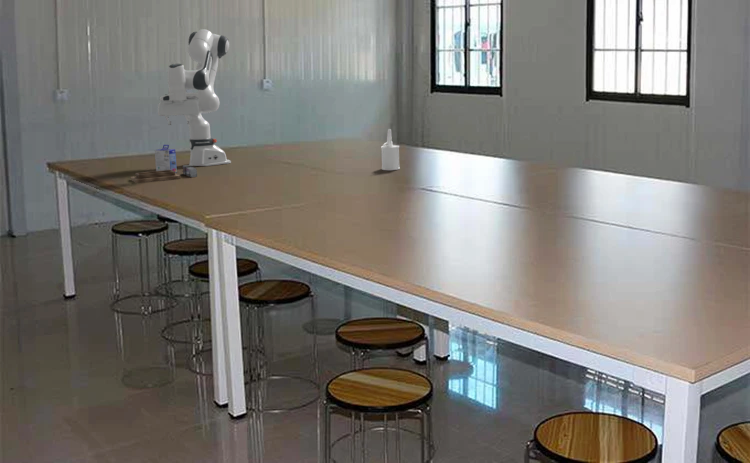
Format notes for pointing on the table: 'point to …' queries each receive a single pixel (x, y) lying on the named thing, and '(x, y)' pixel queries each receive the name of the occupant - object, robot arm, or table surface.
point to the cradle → (155, 176)
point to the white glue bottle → (390, 154)
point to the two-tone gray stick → (189, 171)
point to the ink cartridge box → (165, 159)
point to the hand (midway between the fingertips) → (179, 124)
